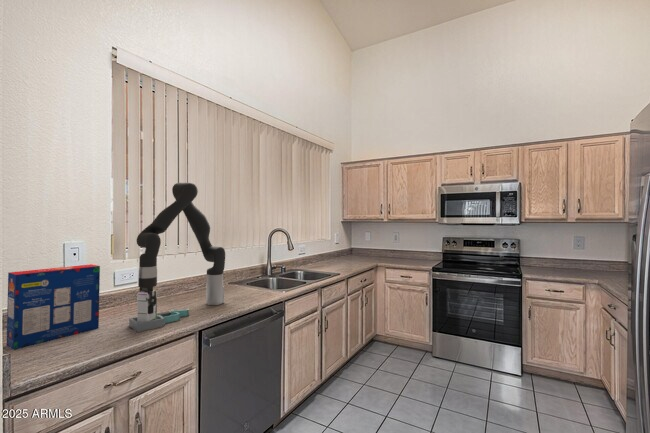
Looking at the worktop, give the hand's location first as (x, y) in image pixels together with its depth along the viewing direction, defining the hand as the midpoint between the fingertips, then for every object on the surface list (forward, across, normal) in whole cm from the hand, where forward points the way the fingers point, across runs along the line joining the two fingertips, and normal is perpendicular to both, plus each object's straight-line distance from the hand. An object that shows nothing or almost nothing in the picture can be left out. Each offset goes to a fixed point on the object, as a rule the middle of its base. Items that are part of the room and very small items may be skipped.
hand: (147, 311), depth 147 cm
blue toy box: (+7, +12, +31) cm, 34 cm away
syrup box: (+5, 0, 0) cm, 5 cm away
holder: (+6, 0, 0) cm, 6 cm away
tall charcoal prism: (+7, +7, -10) cm, 14 cm away
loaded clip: (+6, +6, -17) cm, 19 cm away
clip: (+6, 0, -10) cm, 12 cm away
